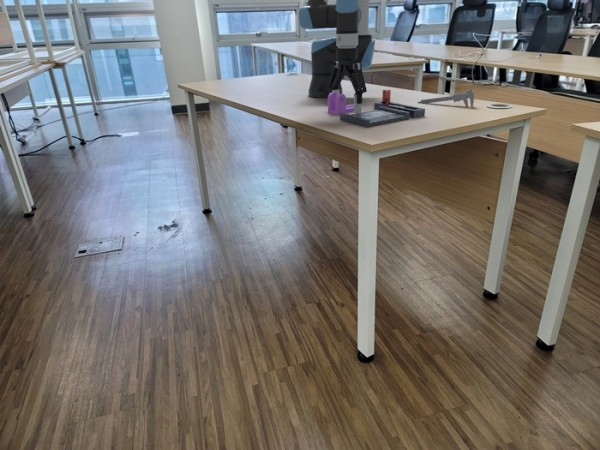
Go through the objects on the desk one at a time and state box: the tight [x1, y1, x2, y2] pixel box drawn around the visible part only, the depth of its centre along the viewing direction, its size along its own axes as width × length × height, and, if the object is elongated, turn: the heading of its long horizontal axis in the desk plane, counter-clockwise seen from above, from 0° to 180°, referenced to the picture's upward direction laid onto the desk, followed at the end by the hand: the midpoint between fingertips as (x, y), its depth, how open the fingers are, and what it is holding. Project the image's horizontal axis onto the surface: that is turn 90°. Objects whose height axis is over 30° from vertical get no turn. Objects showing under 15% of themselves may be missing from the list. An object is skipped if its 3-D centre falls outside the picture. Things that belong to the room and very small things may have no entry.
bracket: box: [327, 93, 354, 116], centre depth 154 cm, size 13×6×7 cm, turn 127°
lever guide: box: [373, 101, 426, 119], centre depth 148 cm, size 20×5×2 cm, turn 31°
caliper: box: [417, 89, 475, 107], centre depth 157 cm, size 20×1×6 cm, turn 56°
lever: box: [381, 89, 405, 108], centre depth 149 cm, size 10×3×6 cm, turn 31°
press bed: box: [339, 106, 410, 128], centre depth 140 cm, size 14×18×2 cm
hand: (346, 110), depth 155 cm, fingers open, 12 cm apart
